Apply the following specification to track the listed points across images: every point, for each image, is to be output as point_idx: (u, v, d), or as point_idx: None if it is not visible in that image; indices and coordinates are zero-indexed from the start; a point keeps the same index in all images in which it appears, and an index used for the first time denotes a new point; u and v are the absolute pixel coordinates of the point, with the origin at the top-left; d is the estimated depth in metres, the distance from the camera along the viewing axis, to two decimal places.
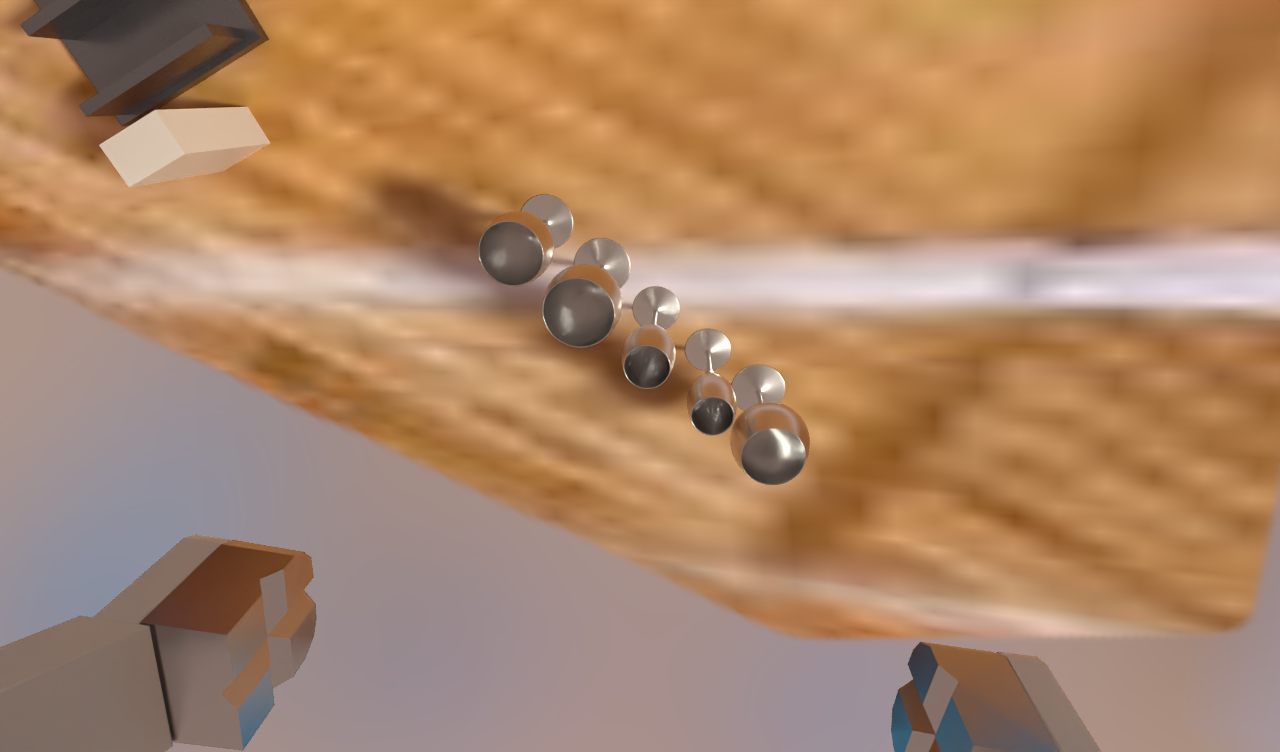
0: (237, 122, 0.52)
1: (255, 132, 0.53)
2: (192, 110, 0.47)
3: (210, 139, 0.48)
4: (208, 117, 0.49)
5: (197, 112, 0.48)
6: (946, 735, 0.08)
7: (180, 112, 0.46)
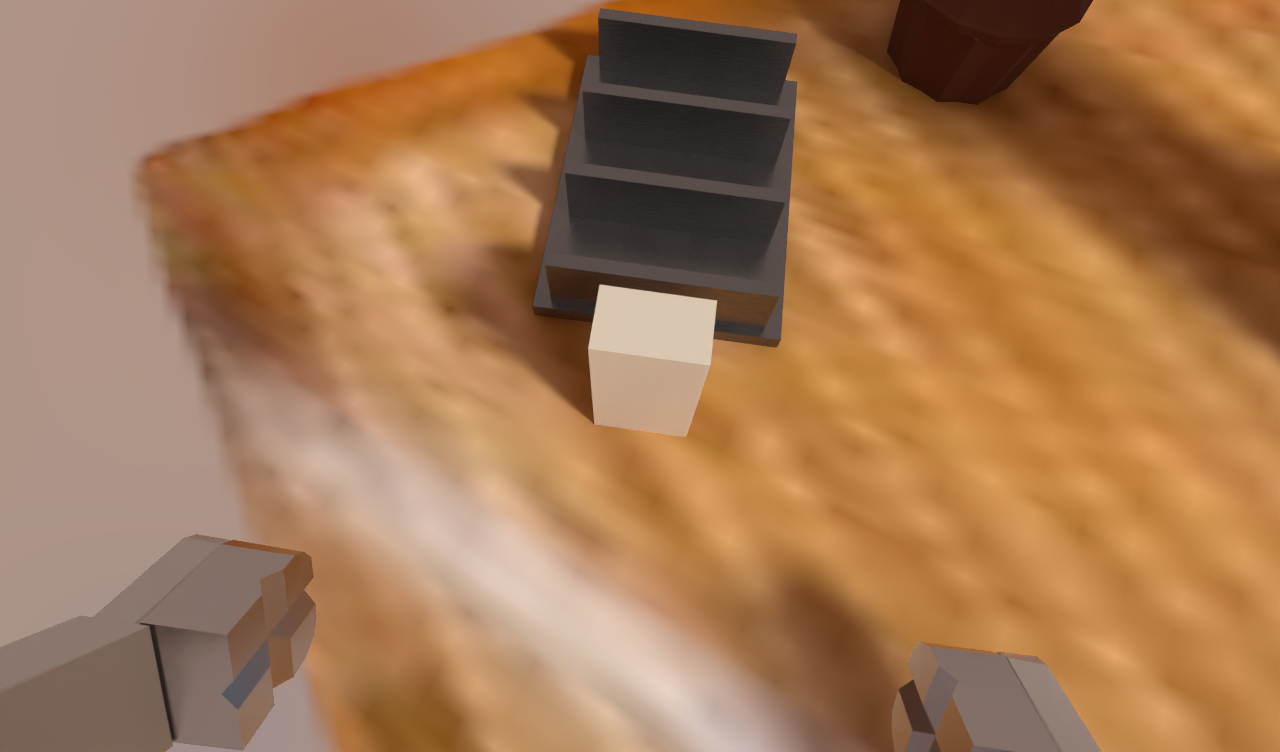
0: None
1: None
2: None
3: None
4: None
5: None
6: (946, 735, 0.08)
7: None
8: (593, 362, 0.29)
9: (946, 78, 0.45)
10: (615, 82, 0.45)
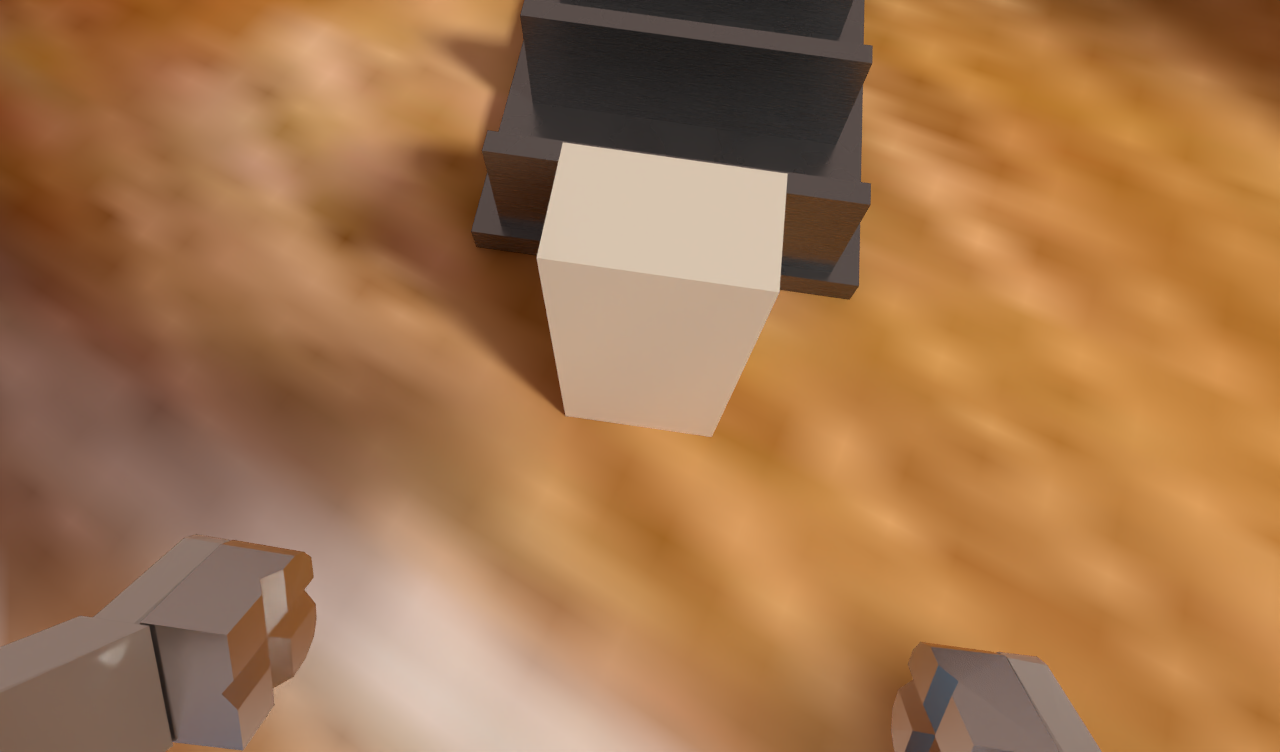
0: None
1: None
2: None
3: None
4: None
5: None
6: (946, 735, 0.08)
7: None
8: (550, 292, 0.15)
9: None
10: None
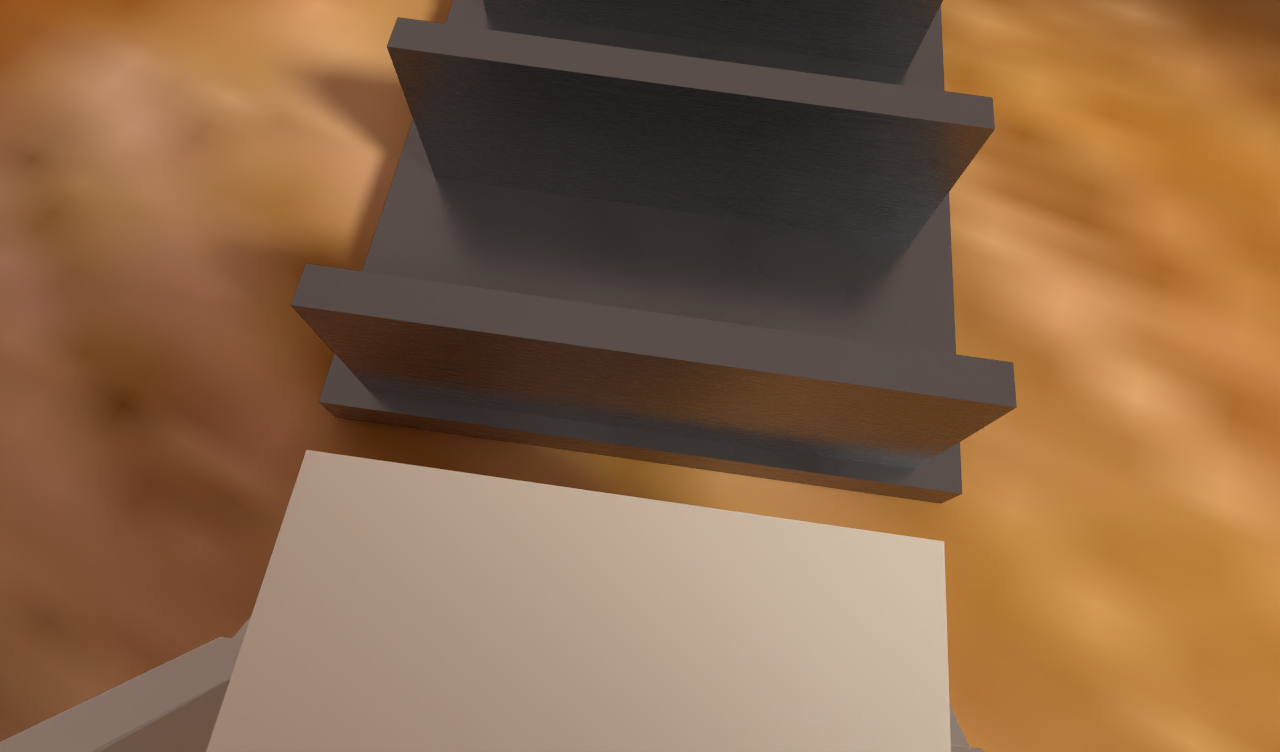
0: None
1: None
2: None
3: None
4: None
5: None
6: None
7: None
8: None
9: None
10: None
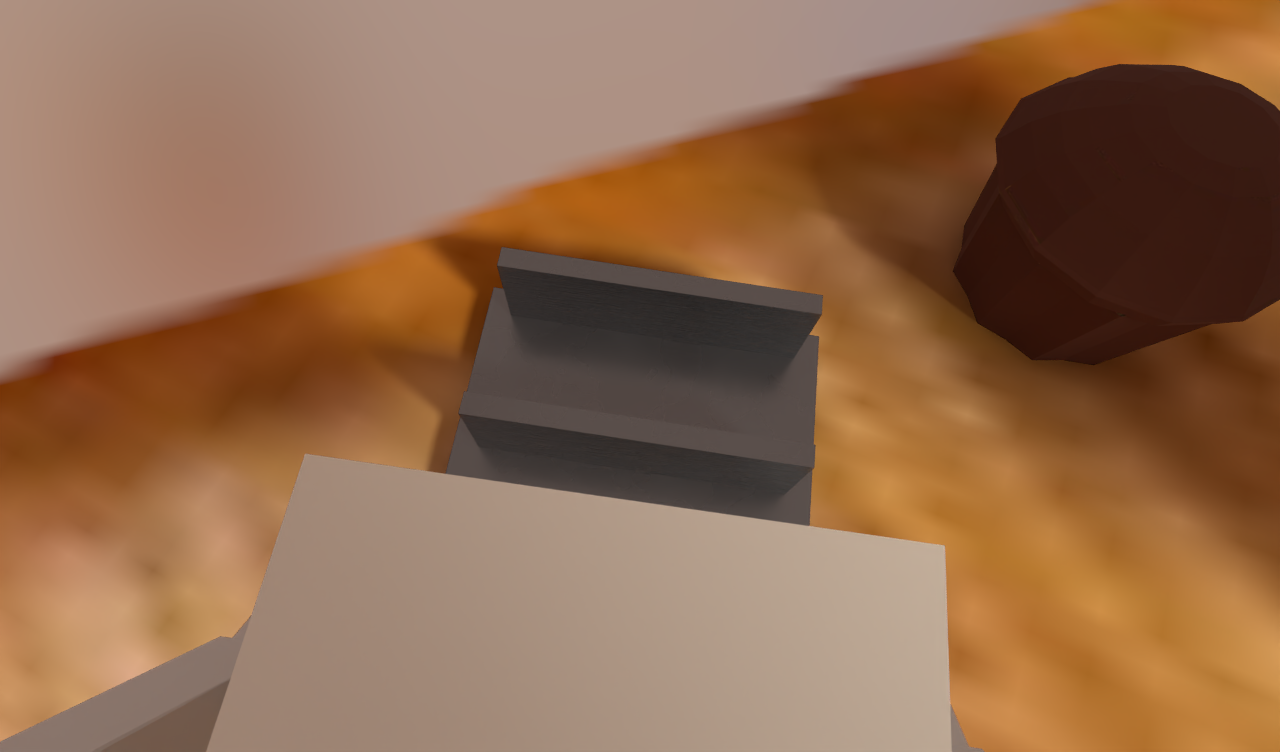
0: None
1: None
2: None
3: None
4: None
5: None
6: None
7: None
8: None
9: (1054, 341, 0.28)
10: (534, 338, 0.29)
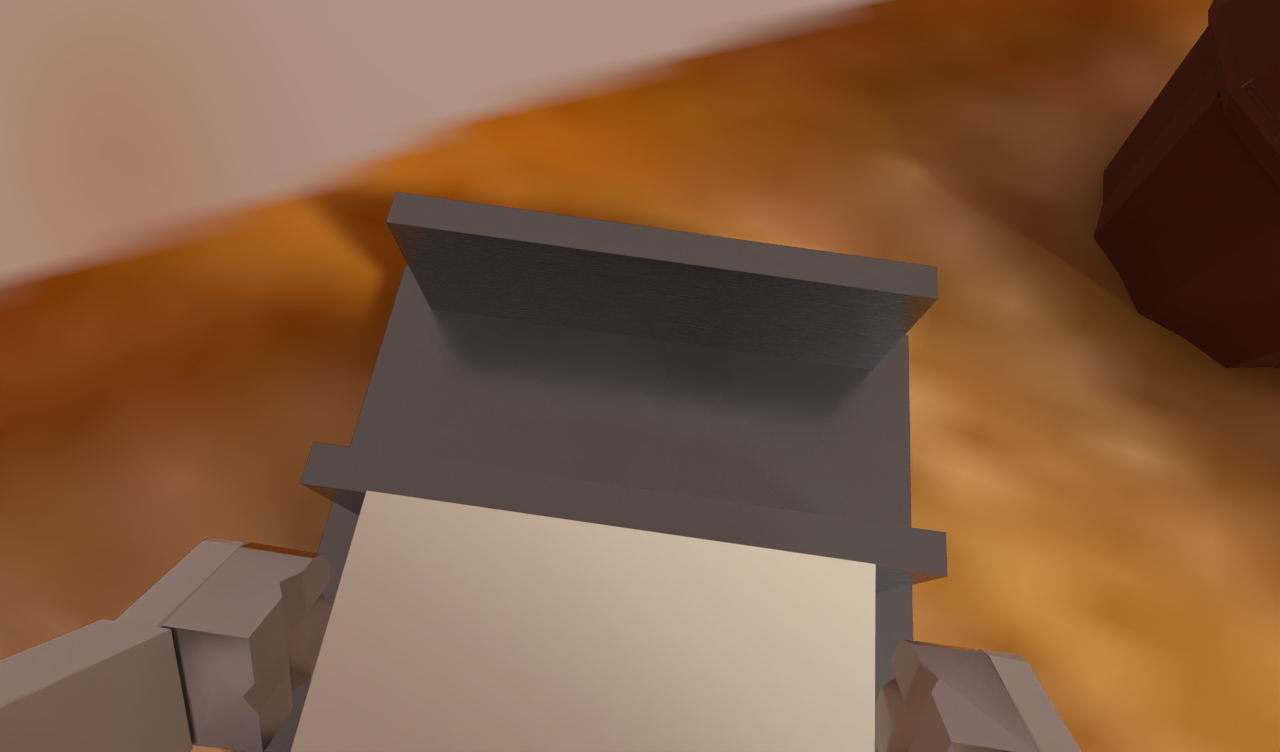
0: None
1: None
2: None
3: None
4: None
5: None
6: (925, 732, 0.08)
7: None
8: None
9: None
10: (466, 343, 0.18)
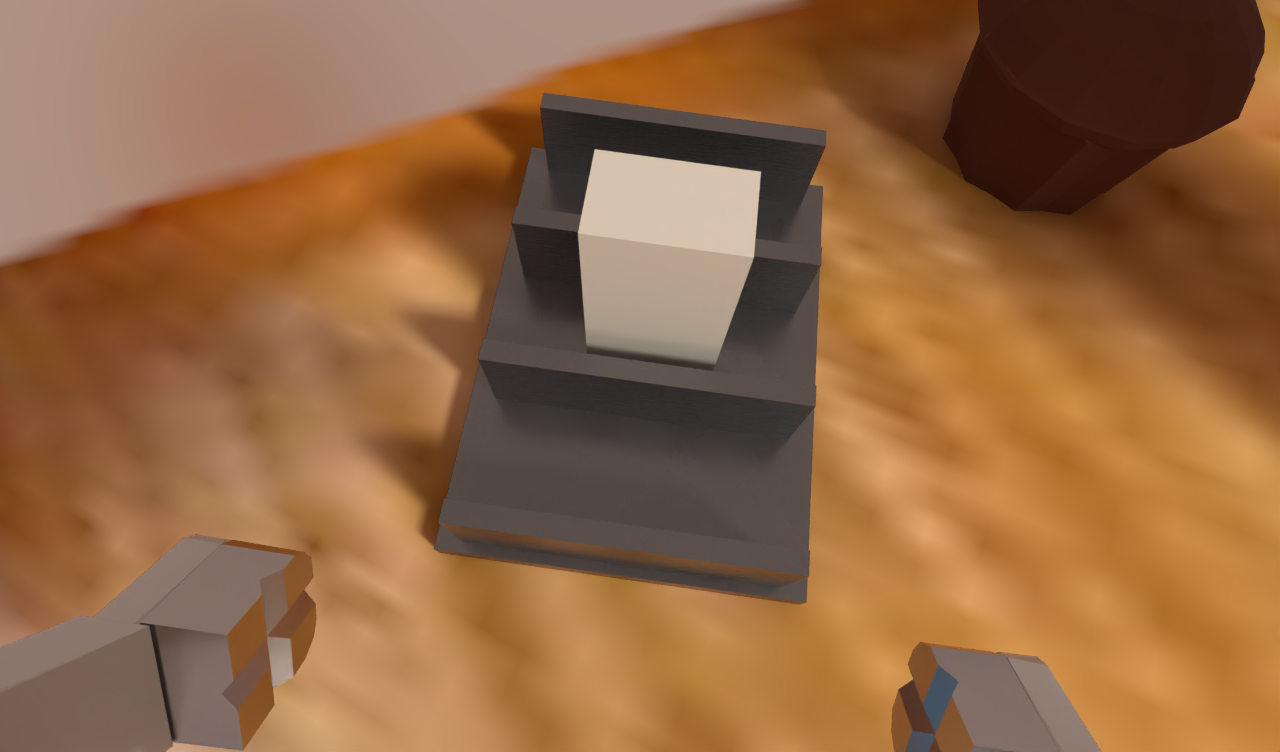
0: None
1: None
2: None
3: None
4: None
5: None
6: (946, 735, 0.08)
7: None
8: (585, 260, 0.21)
9: (1033, 184, 0.32)
10: (569, 188, 0.32)
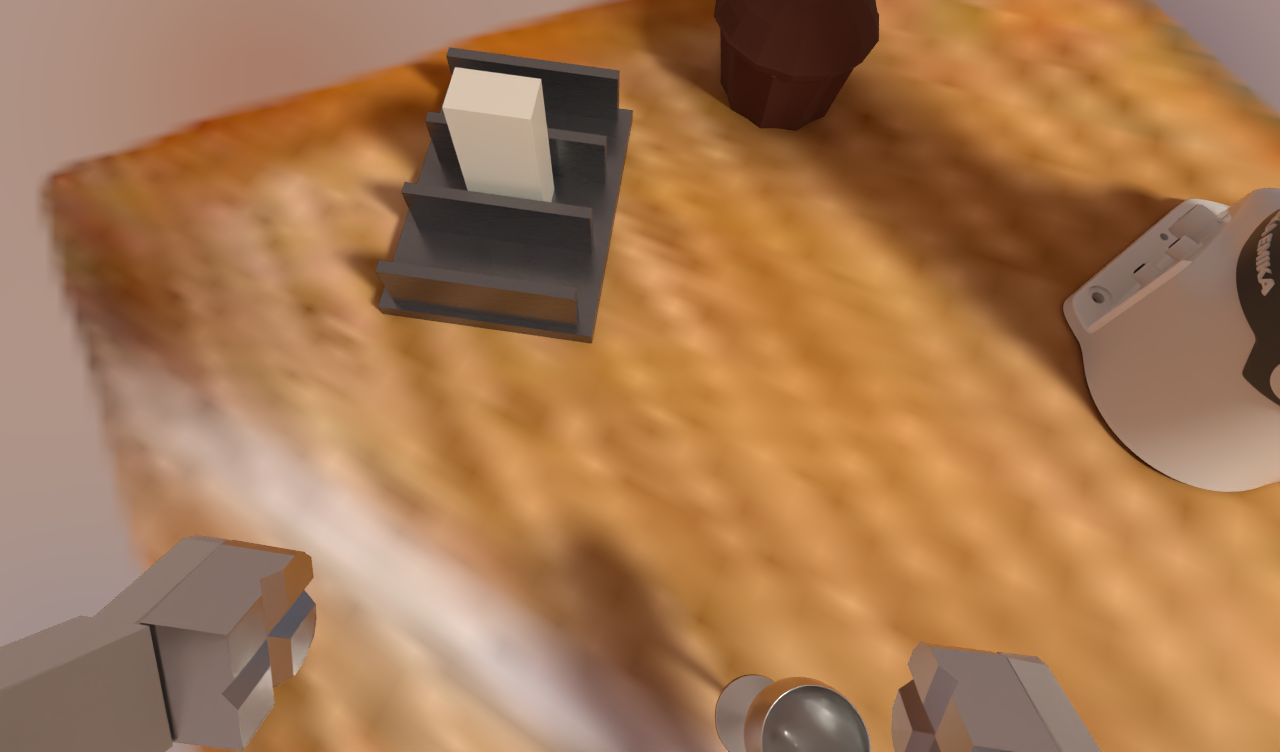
0: (548, 180, 0.46)
1: None
2: (546, 124, 0.43)
3: (539, 149, 0.42)
4: (545, 144, 0.43)
5: (545, 130, 0.43)
6: (946, 735, 0.08)
7: (543, 110, 0.41)
8: (450, 125, 0.40)
9: (761, 108, 0.51)
10: None
